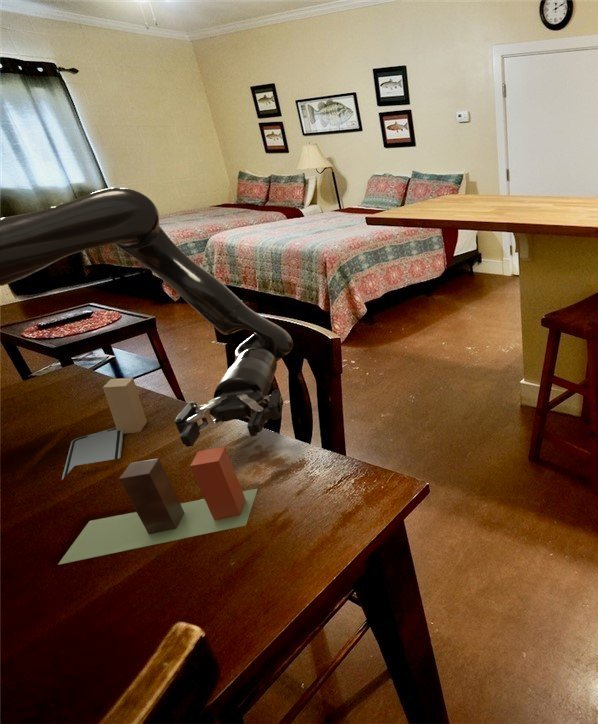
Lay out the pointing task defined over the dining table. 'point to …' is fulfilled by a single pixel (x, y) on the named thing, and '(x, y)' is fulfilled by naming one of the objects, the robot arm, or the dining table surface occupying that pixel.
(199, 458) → the tall red brick
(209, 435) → the dining table surface
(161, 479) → the tall brown brick
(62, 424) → the dining table surface
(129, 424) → the cream rectangular prism
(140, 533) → the pale green strip
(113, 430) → the smartphone
